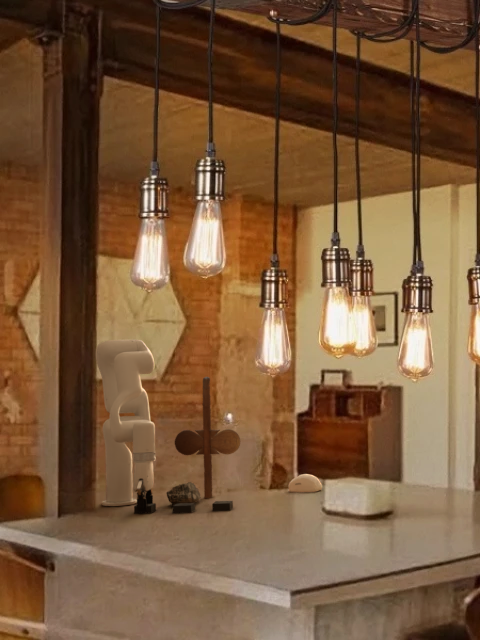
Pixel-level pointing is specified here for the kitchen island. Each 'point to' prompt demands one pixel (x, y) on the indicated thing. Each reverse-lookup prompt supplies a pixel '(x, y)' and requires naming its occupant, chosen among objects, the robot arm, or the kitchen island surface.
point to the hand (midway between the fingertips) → (145, 508)
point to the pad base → (184, 508)
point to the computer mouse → (305, 484)
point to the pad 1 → (150, 509)
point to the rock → (183, 493)
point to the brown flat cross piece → (207, 440)
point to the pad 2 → (222, 505)
